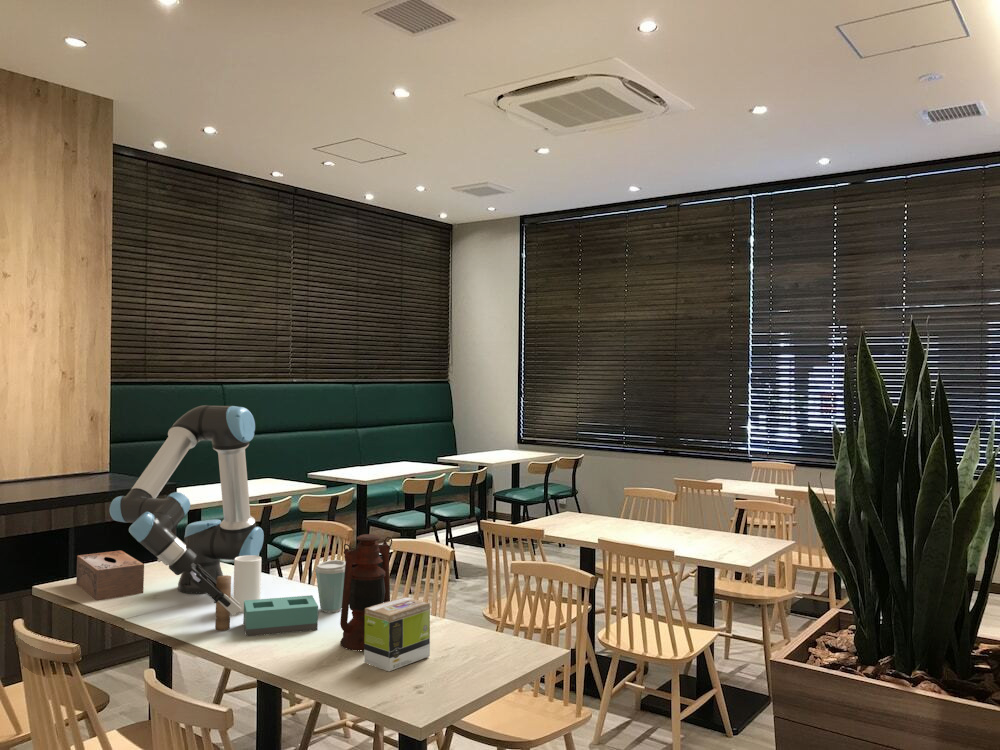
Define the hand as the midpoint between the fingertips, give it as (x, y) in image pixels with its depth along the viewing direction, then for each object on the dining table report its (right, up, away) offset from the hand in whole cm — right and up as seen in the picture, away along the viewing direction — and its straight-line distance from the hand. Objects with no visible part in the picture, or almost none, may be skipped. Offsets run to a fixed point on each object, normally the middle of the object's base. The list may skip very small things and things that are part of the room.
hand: (236, 609), depth 230 cm
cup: (-3, -6, +19) cm, 20 cm away
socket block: (+12, -6, +2) cm, 14 cm away
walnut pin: (-4, -5, -1) cm, 6 cm away
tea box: (+50, -7, -23) cm, 56 cm away
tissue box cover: (-57, -5, +38) cm, 68 cm away
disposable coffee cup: (+23, -6, +20) cm, 31 cm away
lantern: (+40, -7, -10) cm, 41 cm away
